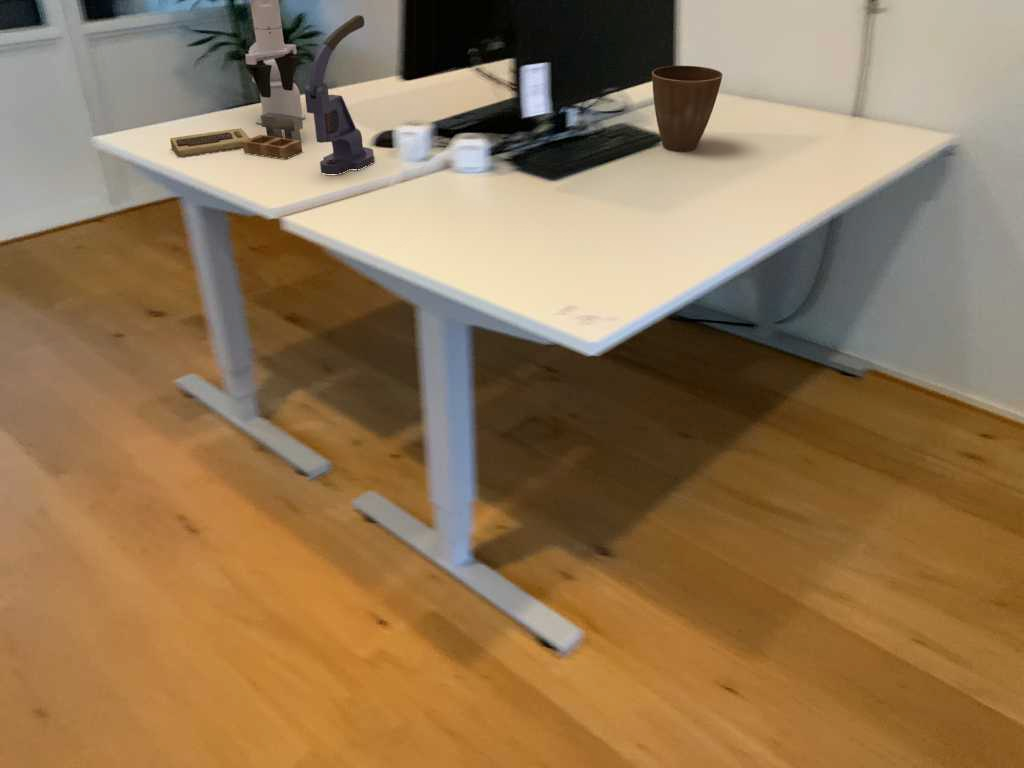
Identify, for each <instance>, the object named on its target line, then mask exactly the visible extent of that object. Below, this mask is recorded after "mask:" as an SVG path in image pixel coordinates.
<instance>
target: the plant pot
mask: <svg viewBox="0 0 1024 768" xmlns="http://www.w3.org/2000/svg"><path fill="white" fill-rule="evenodd" d="M651 74H652V75H651V76H652V79H651V81H652V93H653V94H652V95H653V103H654V105H653V106H654V112H655V117H656V123H657V127H658V131H659V133H658V134H659V136H660V140H661V143H662V147H663V148H664V149H666V150H668V151H672V150H673V151H672V152H688V151H687V150H691V151H694V150H696V149H697V147H698V145H699V142H700V141H701V139H702V137H703V135H704V133H705V130H706V128H707V126H708V123H709V121H710V118H711V115H712V113H713V111H714V107H715V105H716V104H715V103H716V101H717V97H718V93H719V90H720V87H721V84H722V79H723V72H721V71H720V70H718V69H714V68H710V67H703V66H699V65H698V66H696V65H669V66H668V65H667V66H661V67H658V68H655V69H654V70H652V72H651ZM695 148H696V149H695ZM693 149H694V150H693Z"/></svg>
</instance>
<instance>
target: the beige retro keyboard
mask: <svg viewBox="0 0 1024 768" xmlns="http://www.w3.org/2000/svg"><path fill="white" fill-rule="evenodd" d="M248 139H251V138H250V137H249V136H248V135H247V133H246V132H245V131H244V129H242V128H241V127H240V128H232V129H231V128H230V129H225V130H218V131H209V132H206V133H205V132H203V133H198V134H191V135H190V134H189V135H183V136H177V137H175V136H174V137H170V138H169V140H170V146H171V149H172V151H173V152H174V153H175V154H176V155H177V156H178V157H179V158H180V157H182V158H186V156H188V157H194V156H193V155H195V156H200V154H202V155H207V154H206V153H209V154H213V152H215V153H220V152H219V151H222V152H227V151H226V150H229V151H233V150H232V149H236V150H241V149H240V148H243V141H245V140H248Z"/></svg>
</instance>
